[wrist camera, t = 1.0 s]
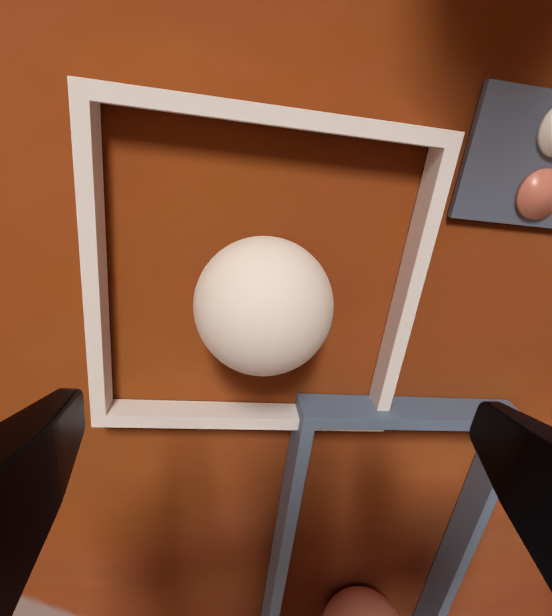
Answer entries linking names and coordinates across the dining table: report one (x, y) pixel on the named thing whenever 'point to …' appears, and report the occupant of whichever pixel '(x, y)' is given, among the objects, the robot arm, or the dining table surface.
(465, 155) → the card
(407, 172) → the dining table surface
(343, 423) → the frame
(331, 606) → the ball terracotta
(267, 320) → the ball cream
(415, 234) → the frame
